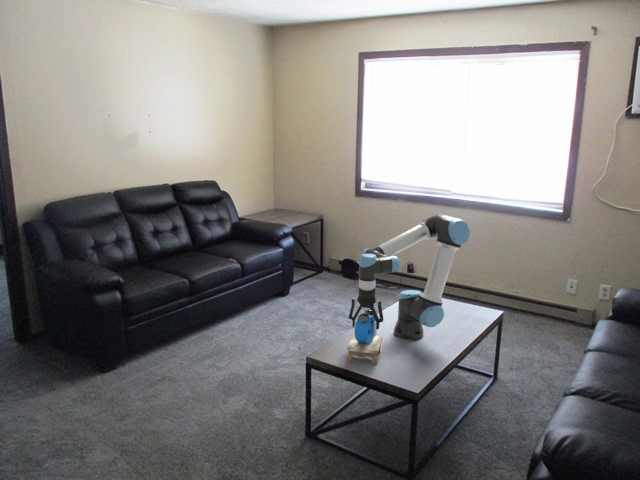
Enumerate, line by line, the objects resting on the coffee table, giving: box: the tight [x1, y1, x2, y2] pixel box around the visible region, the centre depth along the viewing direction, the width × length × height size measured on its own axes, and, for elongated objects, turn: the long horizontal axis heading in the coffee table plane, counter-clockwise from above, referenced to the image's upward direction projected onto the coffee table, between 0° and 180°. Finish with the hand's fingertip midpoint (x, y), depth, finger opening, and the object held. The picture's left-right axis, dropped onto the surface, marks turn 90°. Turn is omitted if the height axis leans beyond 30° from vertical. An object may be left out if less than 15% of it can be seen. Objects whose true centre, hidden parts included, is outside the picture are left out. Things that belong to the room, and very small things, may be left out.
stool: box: [346, 333, 383, 366], centre depth 251 cm, size 14×16×8 cm
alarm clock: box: [354, 308, 376, 344], centre depth 248 cm, size 13×6×15 cm, turn 153°
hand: (365, 334), depth 249 cm, fingers open, 8 cm apart
